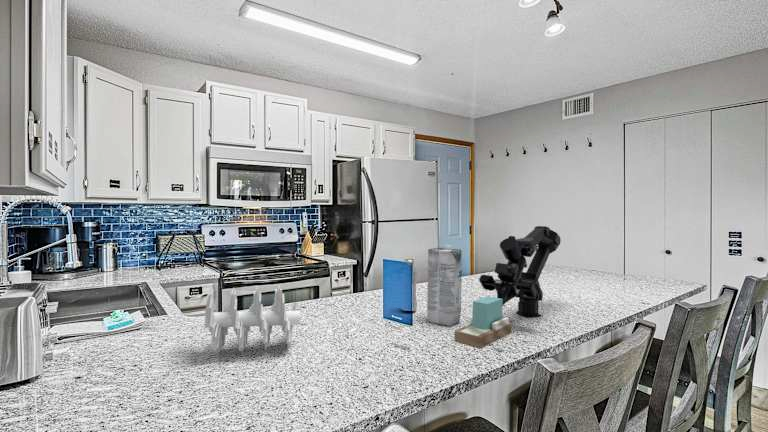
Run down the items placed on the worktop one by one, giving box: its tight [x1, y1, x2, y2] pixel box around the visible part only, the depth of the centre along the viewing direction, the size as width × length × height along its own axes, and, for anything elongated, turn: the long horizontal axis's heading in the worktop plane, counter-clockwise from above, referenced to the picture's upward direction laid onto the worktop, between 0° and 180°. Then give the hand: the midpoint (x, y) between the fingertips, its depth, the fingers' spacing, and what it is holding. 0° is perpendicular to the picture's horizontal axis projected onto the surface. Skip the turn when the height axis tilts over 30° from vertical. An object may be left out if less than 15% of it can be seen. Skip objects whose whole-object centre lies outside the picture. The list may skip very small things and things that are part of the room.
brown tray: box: [454, 316, 513, 349], centre depth 124 cm, size 20×9×5 cm, turn 137°
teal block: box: [471, 296, 503, 330], centre depth 126 cm, size 10×5×8 cm, turn 137°
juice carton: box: [426, 244, 463, 327], centre depth 138 cm, size 9×10×27 cm
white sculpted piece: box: [204, 284, 301, 356], centre depth 111 cm, size 18×18×25 cm
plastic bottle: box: [404, 258, 419, 312], centre depth 152 cm, size 6×7×20 cm
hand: (498, 306), depth 131 cm, fingers closed
